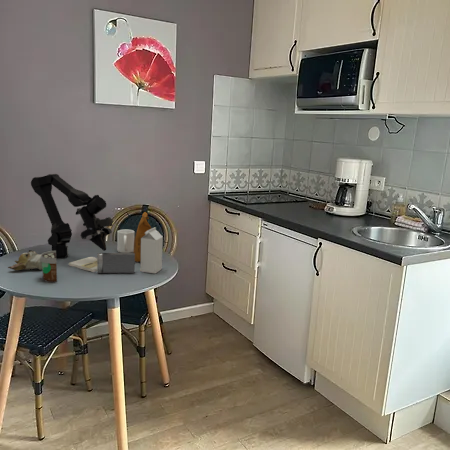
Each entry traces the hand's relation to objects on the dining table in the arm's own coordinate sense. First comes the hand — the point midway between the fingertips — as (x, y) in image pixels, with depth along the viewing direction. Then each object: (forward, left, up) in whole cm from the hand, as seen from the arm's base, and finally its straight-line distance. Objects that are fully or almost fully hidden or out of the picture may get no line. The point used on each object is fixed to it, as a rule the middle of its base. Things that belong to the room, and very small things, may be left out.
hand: (105, 250), depth 200 cm
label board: (-6, +3, -8) cm, 10 cm away
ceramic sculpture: (-31, -2, -8) cm, 32 cm away
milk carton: (+20, -4, -8) cm, 22 cm away
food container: (-21, -14, -8) cm, 27 cm away
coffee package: (+17, +14, -8) cm, 23 cm away
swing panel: (+5, -8, -7) cm, 12 cm away
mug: (+8, +26, -8) cm, 28 cm away
